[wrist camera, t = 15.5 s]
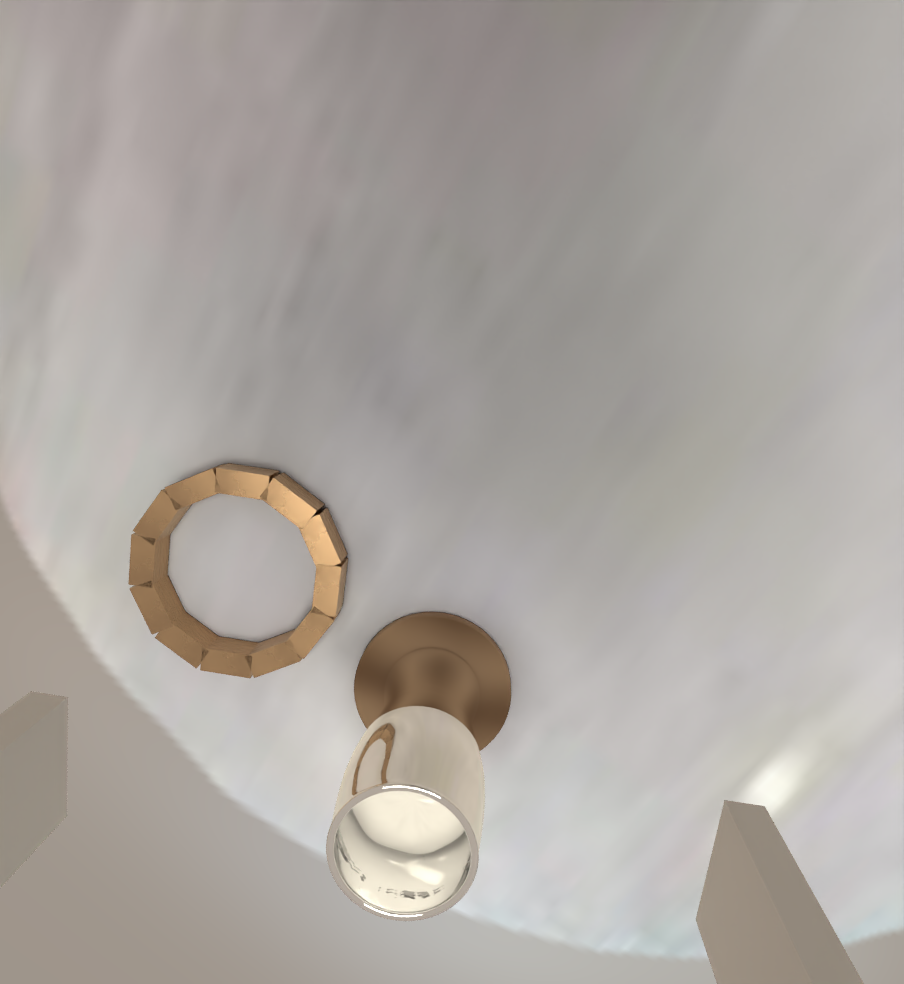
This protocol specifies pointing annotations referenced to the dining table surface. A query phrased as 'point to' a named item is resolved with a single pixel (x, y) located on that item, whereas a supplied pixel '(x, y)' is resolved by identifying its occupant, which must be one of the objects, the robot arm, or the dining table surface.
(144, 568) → the ring
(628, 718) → the dining table surface
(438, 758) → the beer glass
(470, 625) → the walnut coaster
